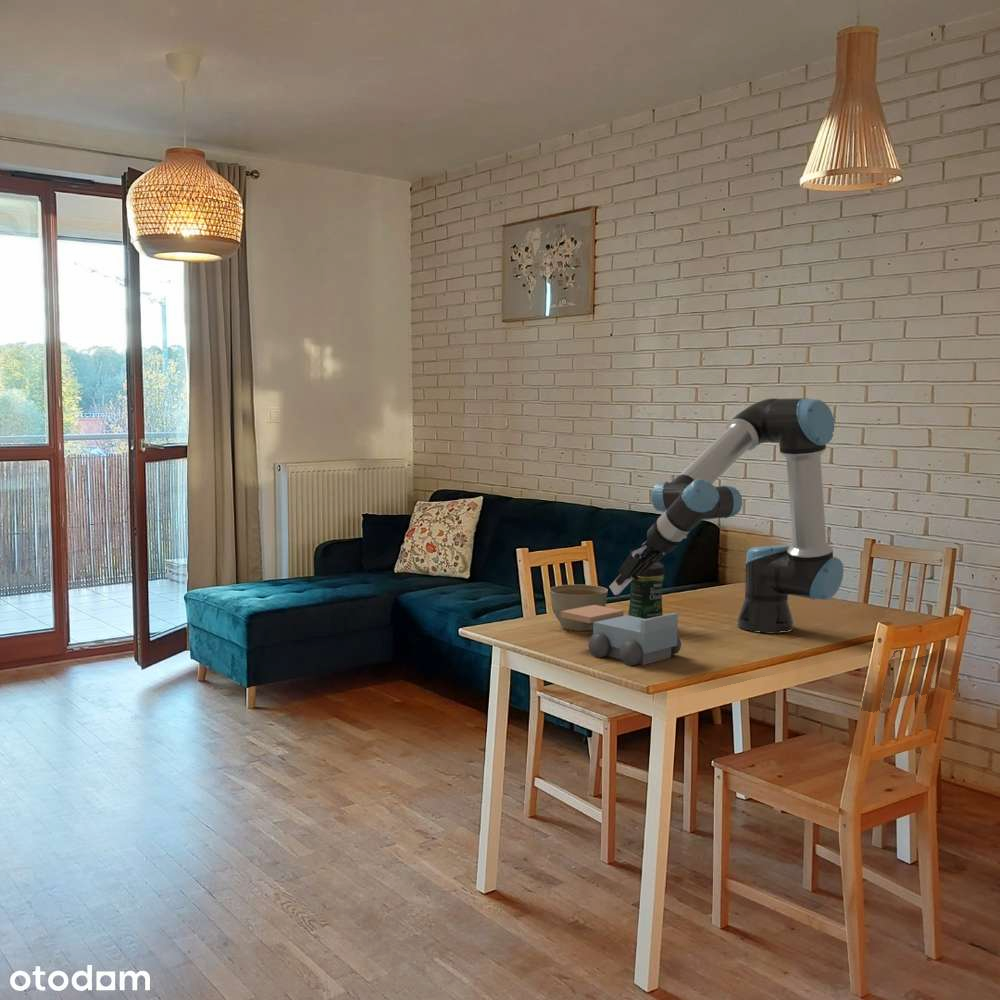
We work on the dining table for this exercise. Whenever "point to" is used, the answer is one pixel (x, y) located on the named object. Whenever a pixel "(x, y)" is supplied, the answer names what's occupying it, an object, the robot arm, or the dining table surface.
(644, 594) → the coffee jar
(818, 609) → the dining table surface
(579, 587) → the planter bowl
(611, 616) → the tailgate
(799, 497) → the robot arm
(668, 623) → the flatbed
